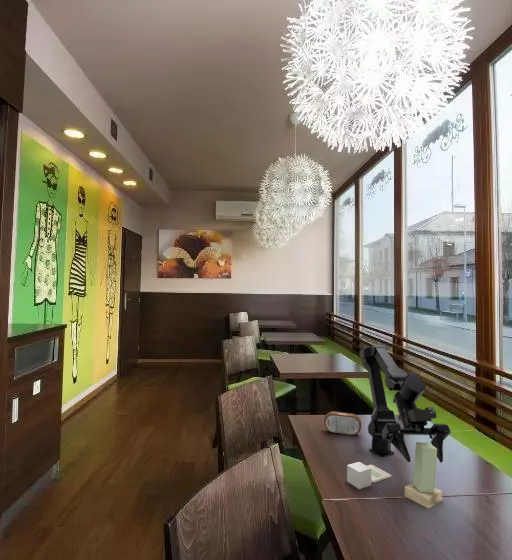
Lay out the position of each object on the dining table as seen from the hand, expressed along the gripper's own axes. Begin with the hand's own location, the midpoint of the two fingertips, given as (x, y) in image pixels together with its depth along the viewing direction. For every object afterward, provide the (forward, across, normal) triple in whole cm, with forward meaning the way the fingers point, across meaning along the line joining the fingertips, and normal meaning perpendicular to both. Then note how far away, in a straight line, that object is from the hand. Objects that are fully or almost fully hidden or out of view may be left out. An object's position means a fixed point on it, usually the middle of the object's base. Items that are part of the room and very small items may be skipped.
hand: (425, 461), depth 101 cm
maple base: (+7, 0, +9) cm, 11 cm away
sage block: (+5, 0, +6) cm, 8 cm away
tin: (-27, -10, +42) cm, 51 cm away
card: (-3, -10, +18) cm, 21 cm away
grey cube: (+1, -16, +14) cm, 21 cm away
